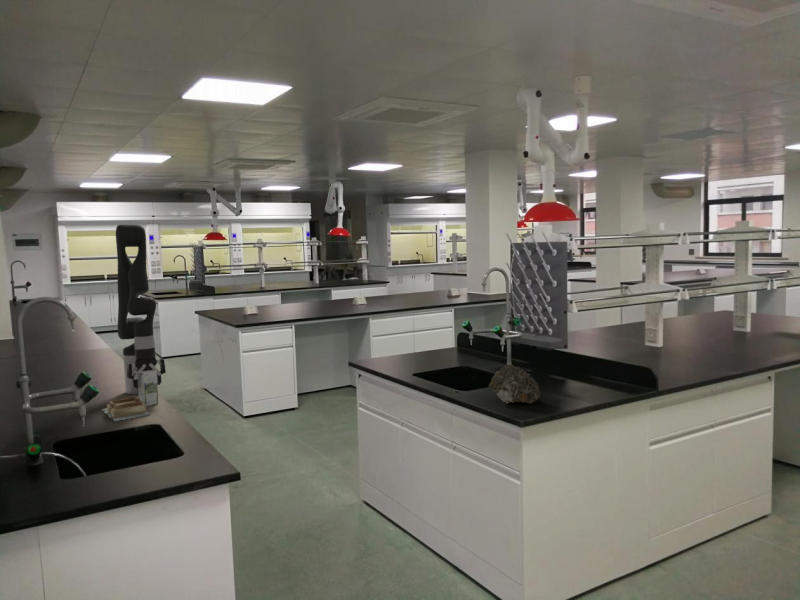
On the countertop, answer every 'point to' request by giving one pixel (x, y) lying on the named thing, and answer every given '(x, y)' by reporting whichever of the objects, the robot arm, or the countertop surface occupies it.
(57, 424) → the countertop surface
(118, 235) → the robot arm
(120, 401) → the build plinth
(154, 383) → the syrup box
